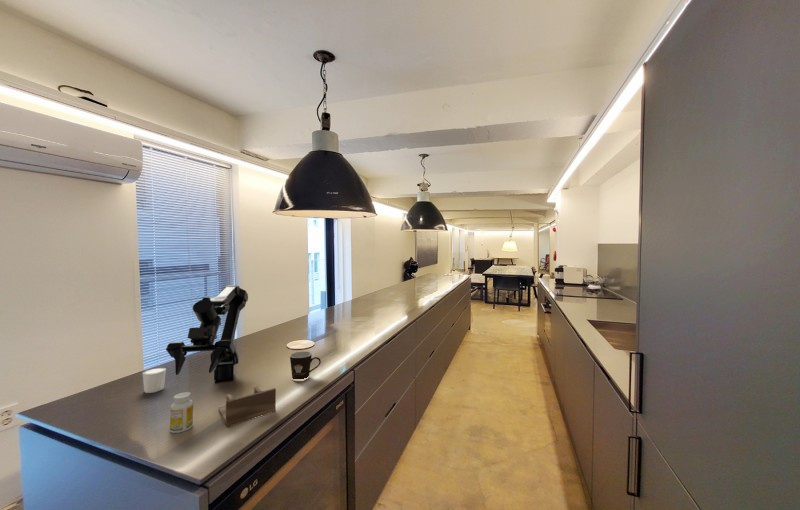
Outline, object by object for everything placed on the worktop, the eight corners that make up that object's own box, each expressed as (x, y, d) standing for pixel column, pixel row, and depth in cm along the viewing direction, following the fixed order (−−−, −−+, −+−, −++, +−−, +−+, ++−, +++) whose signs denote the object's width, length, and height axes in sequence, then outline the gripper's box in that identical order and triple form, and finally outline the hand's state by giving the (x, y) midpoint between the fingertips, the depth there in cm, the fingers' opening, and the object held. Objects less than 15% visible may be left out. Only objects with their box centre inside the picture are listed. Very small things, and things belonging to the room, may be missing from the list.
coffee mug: (284, 381, 121) (285, 356, 121) (299, 373, 129) (299, 350, 129) (308, 385, 117) (308, 360, 117) (321, 377, 125) (322, 353, 125)
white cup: (152, 394, 108) (152, 375, 108) (137, 392, 110) (137, 373, 110) (170, 386, 115) (170, 368, 115) (155, 384, 116) (156, 366, 116)
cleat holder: (218, 411, 97) (218, 388, 97) (263, 398, 106) (264, 377, 106) (226, 427, 88) (226, 402, 88) (275, 411, 97) (275, 389, 97)
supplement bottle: (172, 436, 83) (173, 401, 83) (167, 428, 87) (168, 395, 87) (195, 427, 87) (195, 394, 88) (189, 421, 91) (190, 389, 91)
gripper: (169, 317, 98) (148, 363, 87) (232, 315, 102) (219, 359, 91) (181, 335, 105) (163, 379, 94) (239, 333, 109) (228, 375, 98)
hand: (193, 373), depth 94 cm, fingers open, 9 cm apart
